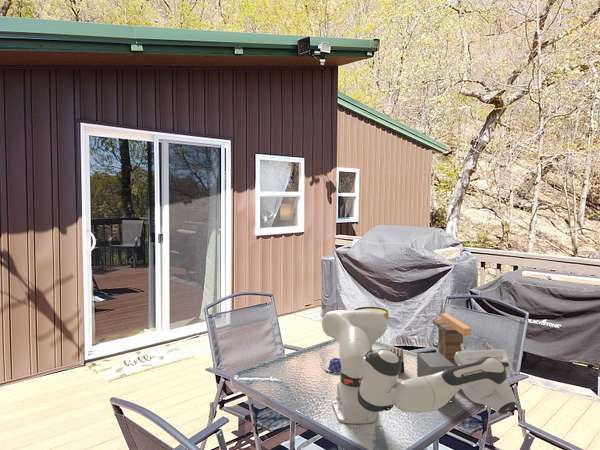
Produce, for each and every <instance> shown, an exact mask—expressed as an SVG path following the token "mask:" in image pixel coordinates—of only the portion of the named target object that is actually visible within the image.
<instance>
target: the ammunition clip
mask: <svg viewBox="0 0 600 450" xmlns="http://www.w3.org/2000/svg"><path fill="white" fill-rule="evenodd" d="M386 349H388V350H390V351H392V352H394V353H395V354H397V355H398V357H399V358H400V359H401V363H402V365H401V372H400V373H402V374H403V373H405V362H404V352H403V351H404V350H403V347H400V348H399V347H397V348H395V347H394V348H393V349H392V348H390V349H389V348H386ZM396 349H397V350H396Z"/></svg>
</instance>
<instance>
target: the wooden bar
mask: <svg viewBox="0 0 600 450" xmlns="http://www.w3.org/2000/svg"><path fill="white" fill-rule="evenodd" d="M440 320H441V321H443V322H444V323H446V324H447V325H449V326H450V327H452V328H453V329H455V330H456V331H458V332H459V333H461V334H462V335H463V337H467V336H469V337H470V336H472V328H471V327H469V326H468V325H466V324H465V323H463V322H462V321H460V320H458V319H457V318H455V317H454V316H452V315H451V314H449V313H441V314H440Z"/></svg>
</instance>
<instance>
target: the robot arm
mask: <svg viewBox="0 0 600 450" xmlns="http://www.w3.org/2000/svg"><path fill="white" fill-rule="evenodd" d="M387 327H388V320H386V318H385V316H384V315H383V314H382V313H381V312H378V311H373V310H355V309H337V310H331V311H327V312H326V313H324V315H323V316H322V320H321V328H322V331H323V333H324V335H326V336H327V337H329V338H332V339H334V340H335V341H337V343H338V344H339V345H338V347H339V349H338V350H339V351H338V352H339V359H340V363H341V370H340V373H339V379H340V380H339V382H338V383H337V384H336V400H333V401H332V402H331V406H332V408H333V411H334V413H335V416H336V418H337V421H338V422H340V423H345V424H351V425H352V424H353V425H354V424H355V425H361V424H362V425H363V424H371V423H375V422H376V420H377V415H378V413H381V412H384V411H386V412H388V411H390V410H392V409H393V407H394V406H395V408H397V410H399V411H401V412H404V413H412V414H414V413H415V414H419V413H421V414H422V413H428V412H433V411H436V410H438V409H441V408H443V407H444V406H445V405H446V404H448V403H449V402H448V401H449V400H450V399H451V398H452V397H453V396H454V395H455V396H456V394H457V393H458V392H459V391H460V390H461V393H462V395H464V397H465V398H466V399H467V401H469V402H470V403H472V404H476V405H478V404H479V405H484V406H487V407H489V408H491V409H492V410H494V411H495V413H497V414H500V415H503V414H504V415H505V414H508V413H509V412H511V411H512V410H514V408H516V406H517V399H516V396H515V392H513V390H512V387H511V385H510V384H509V382H508V381H507V378H508V377H509V375H510V372H511V371H512V366H513V364H512V363H511V362H510V357H509V355H508V353H507V351H506V350H504V349H502V348H501V349H500V348H498V349H495V348H494V347H493V346H491V345H490V344H489V342H488V341H487V342H486V341H485V342H483V343H482V346H483V348H484V349H482V350H481V349H480V350H466V349H467V345H466V343H463V344H461V345H460V346H461V349H462V350H461V351H460V352H456V354H455V356H454V360H455V362H456V363H457V365H458V366H457V367H453V368H450V369H447V370H444V371H441V372H438V373H435V374H432V375H427V376H422V377H417V376H416V377H411V378H407V379H402V378H399V375H400V372H401V365H402V363H401V359H400V358H399V357H398V355H397V353H396V354H395V353H394V352H393V350H392V351H390V349H389V348H388V349H387V348H376V349H372V350H371V347H372V348H373V345H374V344H375V343H376V341H377V340H379V339H380V338H381V337H382V336H384V335H385V333H386V331H387ZM370 350H371V351H370Z"/></svg>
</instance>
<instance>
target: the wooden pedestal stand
mask: <svg viewBox="0 0 600 450" xmlns="http://www.w3.org/2000/svg"><path fill="white" fill-rule="evenodd" d="M432 324H433V325H434V326H436V327H437V328H438V329H437V335H438V337H437V340H438V342H437V343H438V346H437V347H438V350H437V351H438V352H439V353H441V354H442V355H443V356H444V357H445V358H446V359H447V360H449V361H450V362H451V363H452V364H453V365H454V366H455V367H457V366H458V365H457V363H456V362H455V360H454V356H455V354H456V352H460V351H461V350H462V349H461V346H460V345H461V344H464V335H462V334H461V333H459V332H458V331H456V330H455V329H453V328H452V327H450V326H449V325H447V324H446V323H444V322H443V321H441V319H432ZM438 352H437V353H438Z"/></svg>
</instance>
